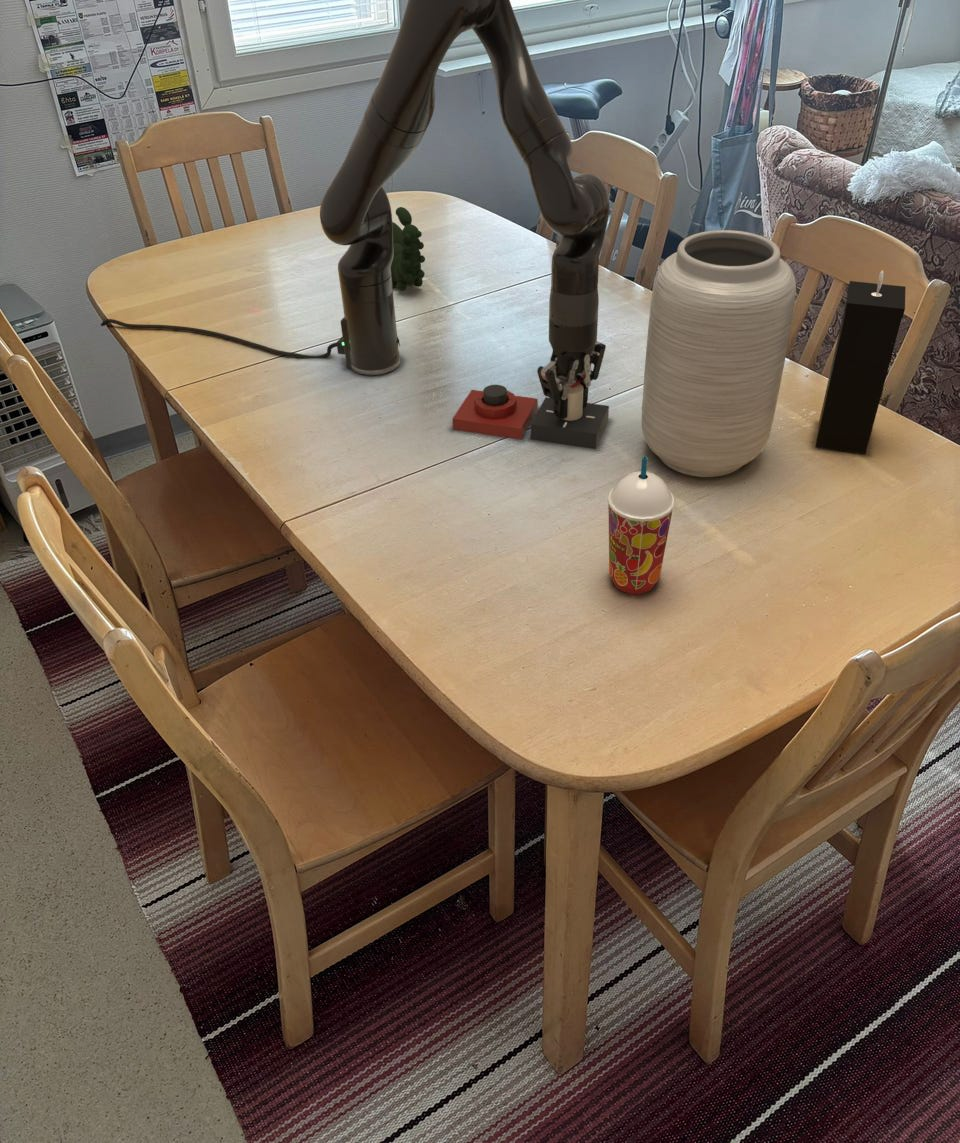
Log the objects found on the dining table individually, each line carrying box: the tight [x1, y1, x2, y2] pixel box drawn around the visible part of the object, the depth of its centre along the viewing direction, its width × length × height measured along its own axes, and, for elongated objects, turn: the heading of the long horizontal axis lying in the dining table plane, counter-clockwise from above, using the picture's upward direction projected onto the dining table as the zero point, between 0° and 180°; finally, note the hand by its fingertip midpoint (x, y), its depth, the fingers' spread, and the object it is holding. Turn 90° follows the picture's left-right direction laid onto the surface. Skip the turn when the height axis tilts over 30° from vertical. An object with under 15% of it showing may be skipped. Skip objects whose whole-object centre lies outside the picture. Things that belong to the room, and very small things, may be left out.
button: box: [482, 384, 508, 406], centre depth 162 cm, size 4×4×2 cm
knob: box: [559, 381, 583, 421], centre depth 158 cm, size 4×4×5 cm
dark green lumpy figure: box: [391, 206, 426, 292], centre depth 205 cm, size 9×19×25 cm
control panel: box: [530, 396, 610, 450], centre depth 160 cm, size 11×9×3 cm
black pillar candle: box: [814, 270, 906, 455], centre depth 147 cm, size 8×8×28 cm
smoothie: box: [607, 456, 676, 595], centre depth 125 cm, size 8×8×20 cm
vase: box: [641, 229, 797, 478], centre depth 144 cm, size 20×20×34 cm
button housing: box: [452, 389, 539, 441], centre depth 163 cm, size 12×10×4 cm
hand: (570, 411), depth 159 cm, fingers closed on knob, 4 cm apart
